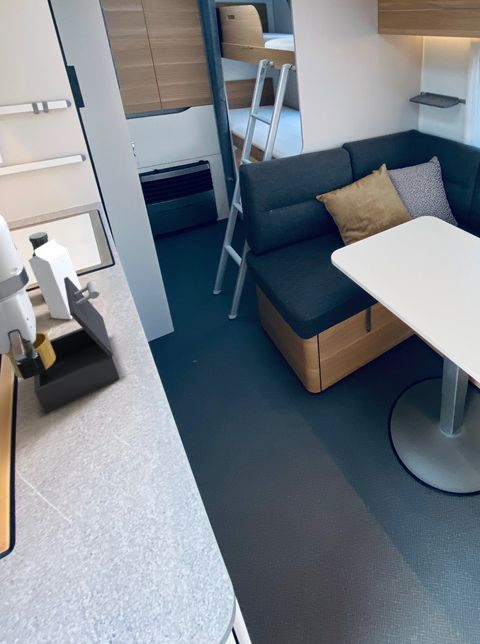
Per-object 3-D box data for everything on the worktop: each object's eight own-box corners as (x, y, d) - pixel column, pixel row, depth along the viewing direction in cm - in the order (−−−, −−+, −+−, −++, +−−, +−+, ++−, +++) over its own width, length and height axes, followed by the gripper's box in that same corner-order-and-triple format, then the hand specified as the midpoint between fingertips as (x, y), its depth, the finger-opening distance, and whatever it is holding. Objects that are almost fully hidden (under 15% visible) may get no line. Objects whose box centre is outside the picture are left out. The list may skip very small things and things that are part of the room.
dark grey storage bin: (45, 414, 85) (34, 392, 83) (41, 367, 97) (32, 347, 94) (119, 378, 93) (112, 357, 91) (108, 339, 105) (101, 319, 102)
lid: (70, 314, 83) (97, 298, 85) (63, 278, 94) (87, 265, 97) (109, 357, 91) (133, 341, 93) (99, 319, 102) (121, 306, 104)
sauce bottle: (50, 302, 119) (27, 244, 111) (40, 296, 122) (16, 238, 114) (75, 290, 124) (54, 233, 116) (64, 284, 127) (43, 228, 119)
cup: (49, 372, 75) (40, 351, 73) (8, 382, 73) (-2, 361, 71) (60, 348, 80) (52, 328, 78) (23, 356, 78) (14, 336, 76)
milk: (52, 318, 113) (22, 250, 104) (70, 303, 118) (43, 237, 110) (71, 319, 112) (43, 251, 103) (88, 305, 117) (63, 238, 109)
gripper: (-26, 268, 73) (10, 345, 80) (-37, 321, 61) (7, 406, 68) (27, 253, 78) (57, 327, 85) (27, 300, 65) (62, 382, 72)
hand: (34, 362), depth 76 cm, fingers closed on cup, 6 cm apart
